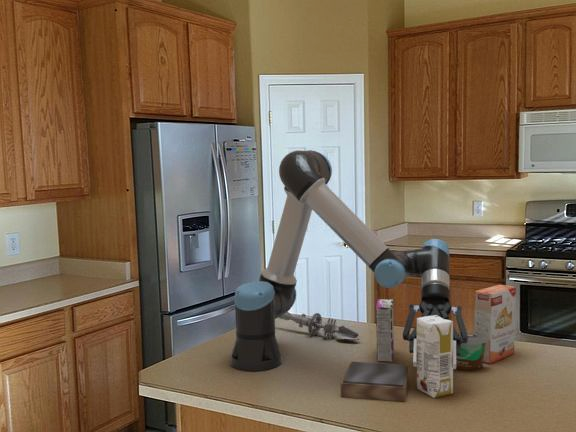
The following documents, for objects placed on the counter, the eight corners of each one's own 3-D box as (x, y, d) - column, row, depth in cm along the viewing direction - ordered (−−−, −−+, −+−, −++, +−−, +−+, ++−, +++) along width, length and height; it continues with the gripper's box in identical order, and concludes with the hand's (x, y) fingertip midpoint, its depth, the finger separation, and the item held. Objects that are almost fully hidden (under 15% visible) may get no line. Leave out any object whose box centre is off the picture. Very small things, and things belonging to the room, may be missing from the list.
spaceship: (283, 303, 222) (271, 299, 216) (367, 327, 202) (356, 323, 195) (277, 324, 221) (264, 321, 215) (361, 350, 201) (350, 347, 194)
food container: (441, 370, 172) (441, 335, 171) (443, 363, 178) (443, 329, 177) (487, 374, 168) (487, 339, 167) (487, 367, 173) (488, 332, 172)
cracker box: (491, 365, 175) (492, 293, 173) (472, 360, 180) (473, 290, 178) (516, 354, 184) (516, 286, 182) (497, 349, 189) (498, 283, 187)
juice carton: (433, 400, 151) (432, 325, 149) (412, 388, 159) (412, 317, 157) (457, 394, 154) (457, 321, 152) (436, 383, 162) (436, 313, 160)
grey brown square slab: (341, 396, 154) (340, 381, 154) (350, 374, 170) (350, 360, 169) (405, 401, 150) (405, 385, 150) (408, 378, 166) (408, 364, 165)
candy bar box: (378, 350, 191) (377, 298, 189) (394, 350, 190) (393, 299, 188) (375, 361, 180) (375, 307, 179) (393, 362, 179) (392, 307, 178)
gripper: (476, 298, 167) (479, 374, 153) (396, 295, 172) (391, 369, 158) (477, 283, 161) (480, 361, 147) (394, 281, 167) (389, 355, 153)
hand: (434, 365), depth 153 cm, fingers closed on juice carton, 9 cm apart
